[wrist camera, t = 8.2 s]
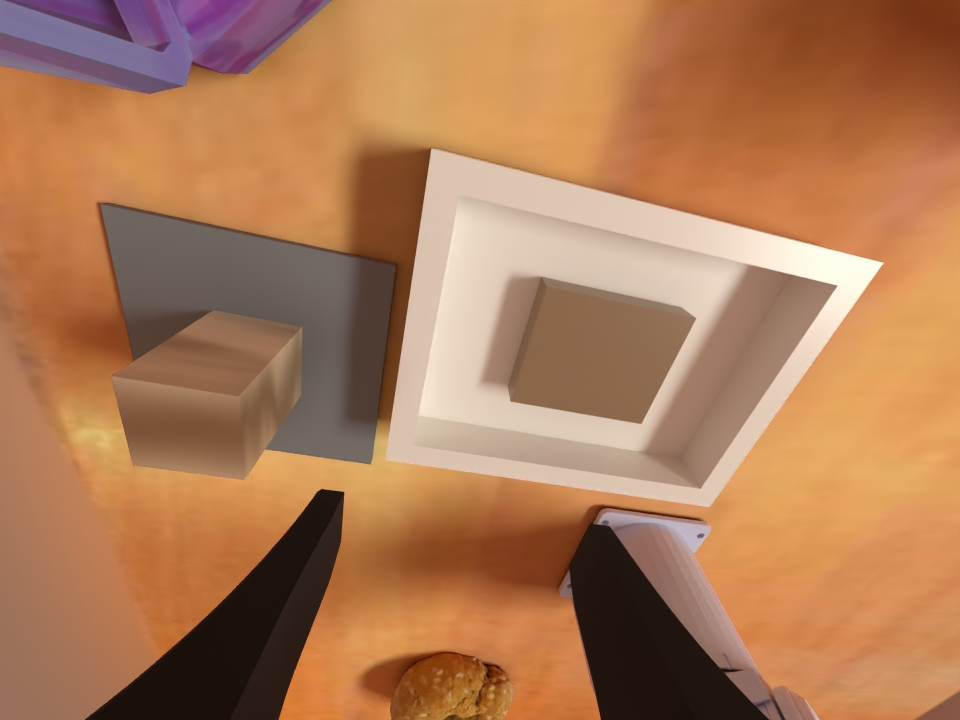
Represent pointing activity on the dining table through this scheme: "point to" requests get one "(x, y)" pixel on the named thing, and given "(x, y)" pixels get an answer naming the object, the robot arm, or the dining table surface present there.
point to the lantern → (145, 37)
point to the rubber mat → (265, 313)
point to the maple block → (211, 395)
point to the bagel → (452, 690)
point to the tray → (601, 334)
